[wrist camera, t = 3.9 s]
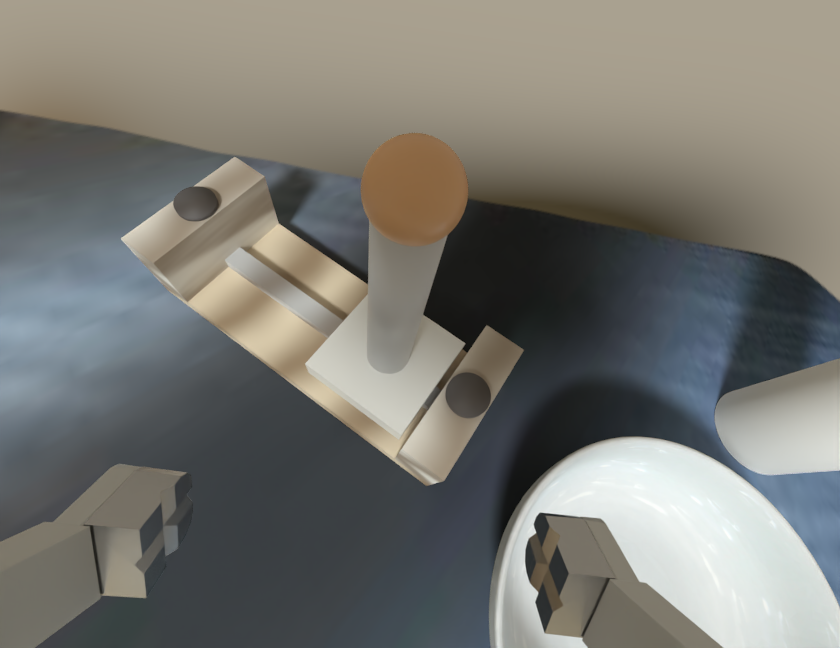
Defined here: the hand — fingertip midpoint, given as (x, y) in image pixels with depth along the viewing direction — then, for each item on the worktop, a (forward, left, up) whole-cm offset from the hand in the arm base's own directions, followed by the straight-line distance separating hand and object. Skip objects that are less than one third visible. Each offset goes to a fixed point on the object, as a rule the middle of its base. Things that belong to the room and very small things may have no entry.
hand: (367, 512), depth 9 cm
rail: (-10, +9, -20) cm, 24 cm away
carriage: (-5, +9, -17) cm, 20 cm away
